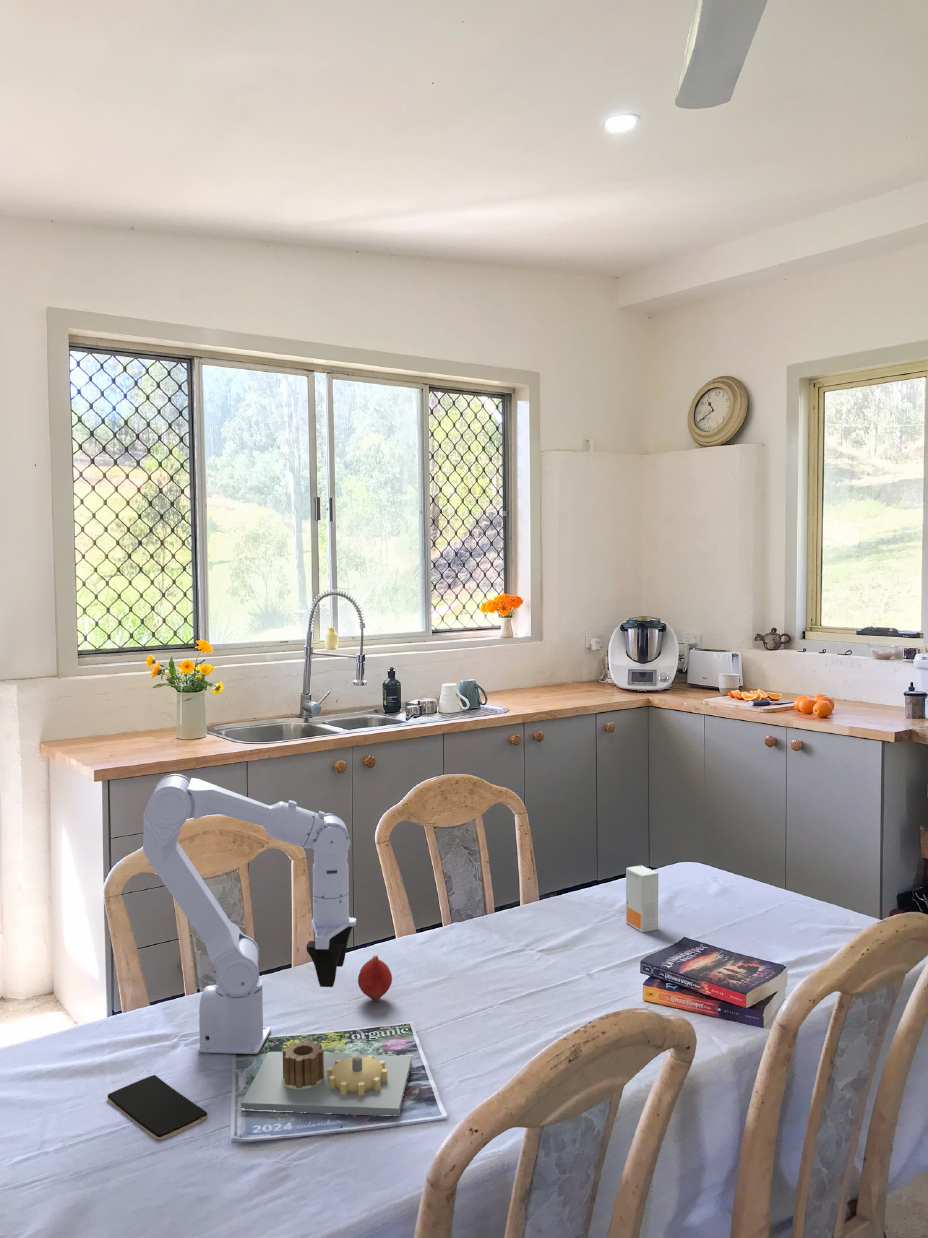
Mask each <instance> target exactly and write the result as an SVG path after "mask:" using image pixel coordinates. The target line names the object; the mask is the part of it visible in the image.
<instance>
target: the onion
mask: <svg viewBox="0 0 928 1238" xmlns="http://www.w3.org/2000/svg"><path fill="white" fill-rule="evenodd" d="M392 983H393V976H392V972H391V970H390V968H389V966H388V964H387V963H385V962H384V961H382V960H381V959H379V956H378V954H376V955H373V957H371V958H370V959H369V960H368V961H366V963H364V964H363V966H362V967H361V969H360V970H359V974H358V977H357V984H358V987H359V989H360V990H361V992H362V993H363V994H364V995H365V996H366V997H367V998H369V999H371V1000H372V1001H375V1002H377V1001H378V1000H380V999H381V998H382V997H384V995H385V994H386V993H388V991H389V989H390V987H391V985H392Z"/></svg>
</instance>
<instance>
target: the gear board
mask: <svg viewBox="0 0 928 1238" xmlns="http://www.w3.org/2000/svg"><path fill="white" fill-rule="evenodd" d="M412 1063H413V1058H412V1056H408V1055H407V1056H406V1055H381V1054H379V1055H378V1054H377V1055H376V1054H349V1053H348V1054H347V1053H346V1054H345V1053H324V1077H323V1079H320V1080H319V1081H318V1082H317V1084H316V1085H314V1086H311V1085H309V1086H303V1087H302V1088H296V1085H295V1086H293V1085H288V1086H287V1085H286V1084H285V1078H283V1051H282V1052H281V1051H268V1052H267V1054H266V1056H265V1058H264V1060H263V1061H262V1064H261V1065H260V1067H259V1069H258V1070H257V1073H256V1074H255V1075H254V1076H255V1077H254V1078H253V1080H252V1082H251V1084H250V1086H249V1088H248V1090H247V1092H246V1093H245V1095H244V1096H243V1099H242V1100H241V1102H240V1109H241V1108H244V1109H254V1110H272V1111H273V1110H275V1111H293V1112H303V1113H304V1112H306V1113H332V1114H345V1115H344V1116H349V1115H348V1114H353V1115H352V1116H357V1115H391V1116H394V1115H396V1116H399V1117H400V1115H399V1113H400V1114H401V1111H400V1109H401V1110H402V1106H401V1104H402V1105H403V1102H402V1100H403V1101H404V1098H403V1096H404V1097H405V1094H404V1092H405V1093H406V1090H405V1087H406V1088H407V1086H406V1084H407V1085H408V1081H407V1079H408V1080H409V1077H410V1073H409V1071H410V1072H411V1069H410V1068H412V1065H411V1064H412ZM408 1076H409V1077H408ZM303 1113H302V1114H303ZM355 1114H357V1115H355Z"/></svg>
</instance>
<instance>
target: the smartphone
mask: <svg viewBox="0 0 928 1238" xmlns="http://www.w3.org/2000/svg"><path fill="white" fill-rule="evenodd" d="M107 1101H108V1102H109V1103H110V1104H112V1105H113V1106H114V1107H116V1108H117V1109H118V1110H119V1111H121V1112H122V1113H123V1114H124V1115H126V1116H127V1117H128V1118H129V1119H130V1120H132V1121H133V1122H134V1123H135V1124H137V1125H138V1127H140V1128H142V1130H144V1131H146V1132H147V1134H149V1135H150V1136H152V1138H155V1139H156V1140H158V1141H162V1140H164V1139H168V1138H171V1137H173V1136H175V1135H177V1134H179V1133H181V1132H184V1131H185V1130H188V1129H190V1128H192V1127H194V1126H196V1125H197V1124H199V1123H201V1122H203V1121H205V1120H206V1119H207V1118H208V1116H209V1115H208V1114H209V1113H207V1111H206V1110H204V1109H203V1108H201V1107H200V1106H199V1105H197V1104H196V1103H194V1102H193V1101H191V1100H189V1098H187V1097H185V1096H184V1095H183V1094H181V1093H180V1092H178V1091H177V1090H176V1089H174V1088H173V1087H172V1086H171V1085H168V1084H167V1083H166V1082H165V1081H164V1080H162V1079H161V1078H159V1076H157V1075H155V1074H153V1075H151V1076H147V1077H144V1078H142V1079H140V1080H137V1081H135V1082H133V1083H130V1084H128V1085H124V1087H121V1088H118V1089H117V1090H114V1091H112V1092H110V1093H108V1094H107Z"/></svg>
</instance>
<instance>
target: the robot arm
mask: <svg viewBox="0 0 928 1238" xmlns="http://www.w3.org/2000/svg"><path fill="white" fill-rule="evenodd" d="M297 803H298V802H297V801H294V800H291V799H289V800H288V802H285V801H281V800H280V801H278V802H277V803H274V804H271V805H268V804H266V803H263V802H260V801H258V800H255V799H253V798H250V797H247V796H245V795H242V794H240V793H237V792H234V791H231V790H228V789H226V788H223V787H222V786H218V785H216V784H213V783H211V782H208V781H205V780H203V779H200V778H194V777H191V778H189V777H187V776H185V775H183V774H180V773H179V774H178V773H172V774H167V775H165V776H164V777H162V778H161V779H160V780H159V781H158V782H157V783H156V785H155V787H154V790H153V792H152V795H151V796H150V798H149V800H148V802H147V804H146V807H145V810H144V813H143V815H142V817H143V833H142V835H143V836H142V837H143V839H142V851H143V855H144V856H145V858H146V859H147V860H148V862H149V863H150V865H151V866H152V868H153V869H154V871H155V873H156V874H157V875H158V877H159V878H160V880H161V881H162V883H163V884H164V886H165V887H166V889H167V890H168V892H169V893H170V895H171V896H172V897H173V900H175V902H176V904H177V905H178V906H179V908H180V909H181V911H182V912H183V914H184V916H185V917H186V918H187V920H188V922H189V923H190V924H191V926H192V927H193V929H194V930H195V932H196V934H197V935H198V936H199V937H200V938H199V939H200V940H201V941H202V942H203V943H204V945H205V948H206V952H207V953H208V957H209V961H210V963H211V965H212V966H213V968H214V969H215V972H216V980H217V981H216V984H211V985H206V986H205V987H204V988H203V991H202V993H201V996H200V1002H199V1007H198V1008H199V1009H198V1010H199V1011H198V1015H199V1016H198V1019H199V1020H198V1022H199V1023H198V1024H199V1026H198V1027H199V1047H198V1049H197V1050H198V1053H206V1054H208V1053H212V1054H235V1055H237V1054H241V1055H257V1054H259V1052H260V1051H261V1049H262V1047H263V1045H264V1044H265V1042H266V1040H267V1038H268V1036H269V1035H270V1033H271V1031H272V1029H271V1027H270V1026H264V1015H263V1014H264V1012H263V1011H264V1010H263V1009H264V1008H263V1007H264V1005H263V980H262V978H261V977H260V970H259V958H260V950H259V946H258V943H257V942H256V941H255V940H254V939H253V938H252V937H250V936H248V935H246V934H244V933H243V932H242V930H241V929H240V927H239V926H238V925H237V924H235V923H234V922H232V921H231V920H230V919H229V917H228V915H227V914H226V912H225V911H224V909H223V908H222V906H221V905H220V903H219V901H218V900H217V899H216V897H215V896H214V894H213V892H212V891H211V890H210V888H209V887H208V886H207V884H206V882H205V881H204V879H203V878H202V876H201V875H200V873H199V872H198V870H197V869H196V867H195V866H194V864H193V863H192V861H191V860H190V858H189V857H188V855H187V854H186V852H185V851H184V849H183V847H182V845H180V843H179V836H180V832H181V829H182V827H183V826H184V825H185V823H186V821H187V820H188V818H189V817H190V815H191V813H193V819H194V820H197V819H201V818H203V817H206V816H208V815H211V814H218V815H221V816H225V817H228V818H232V819H236V820H240V821H243V822H247V823H250V824H251V823H252V824H254V825H258V826H261V827H263V828H264V830H265V832H266V834H267V836H268V837H270V838H273V839H276V840H279V841H282V842H285V843H289V844H291V845H295V846H297V847H300V848H303V849H313V864H312V920H311V927H312V930H313V932H314V936H315V937H314V940H308V942H307V944H306V952H307V953H308V955H309V956H310V958H311V961H312V962H313V965H314V968H315V972H316V977H317V980H318V984H319V987H321V988H334V986H335V981H336V977H337V967H339V968H340V967H343V966H344V963H345V959H346V954H347V947H348V942H349V938H350V934H351V932H352V929H353V927H355V926H356V924H357V918H356V917H350V902H349V901H350V899H349V898H350V894H349V893H350V891H349V889H350V887H349V885H350V884H349V879H350V878H349V877H350V876H349V875H350V874H349V873H350V872H349V865H350V864H349V863H348V858H349V854H348V851H349V850H350V847H351V841H352V840H351V839H350V835H349V832H348V829H347V826H346V823H345V822H344V821H343V820H342V819H341V818H340V817H338V816H337V815H335V814H334V813H331V812H330V813H325V812H324V811H321V810H319V811H318V813H317V812H315V811H312V810H309V809H305V808H304V807H300V806H298V804H297Z"/></svg>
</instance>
